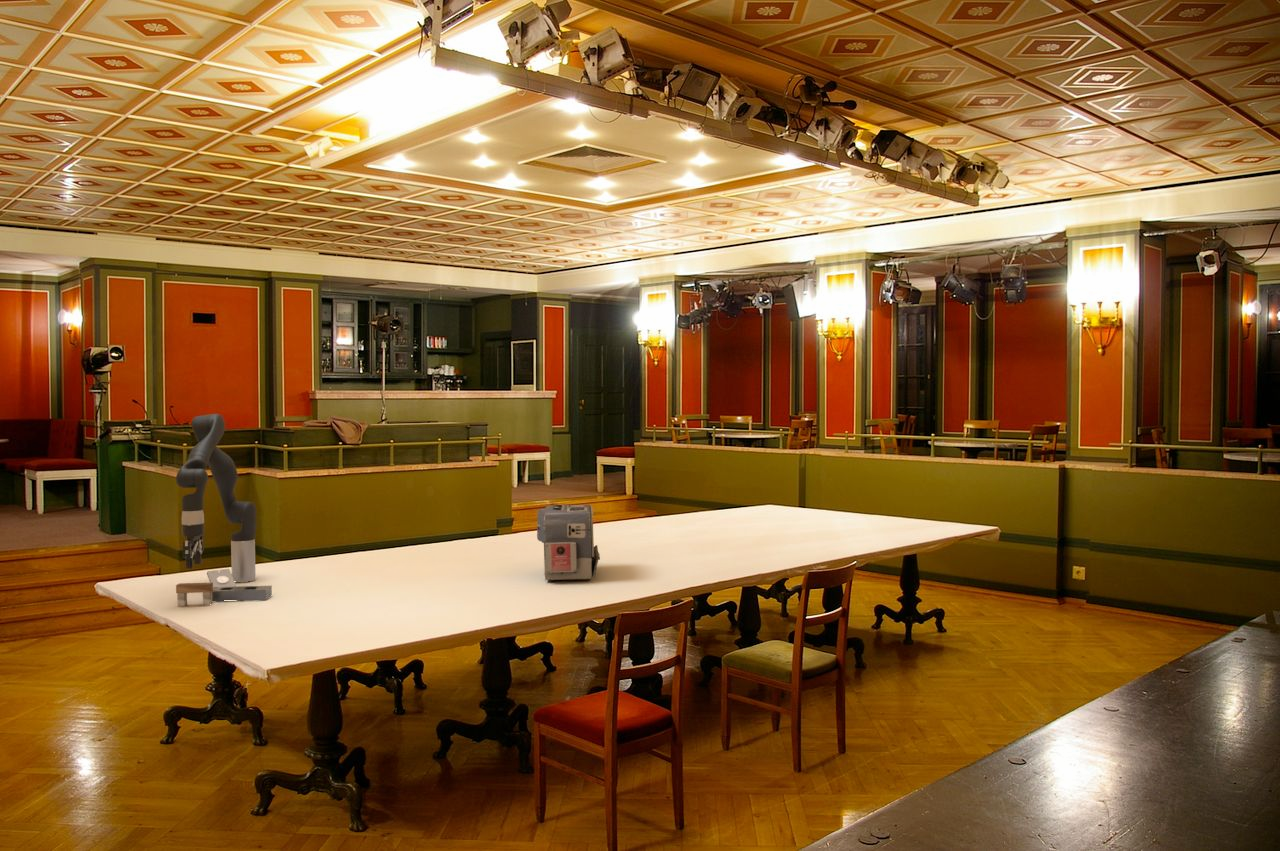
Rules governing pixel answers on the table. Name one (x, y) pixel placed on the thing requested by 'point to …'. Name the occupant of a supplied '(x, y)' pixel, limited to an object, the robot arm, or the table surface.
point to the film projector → (567, 542)
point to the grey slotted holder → (241, 593)
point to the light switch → (221, 578)
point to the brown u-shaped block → (194, 588)
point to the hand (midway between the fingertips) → (193, 566)
